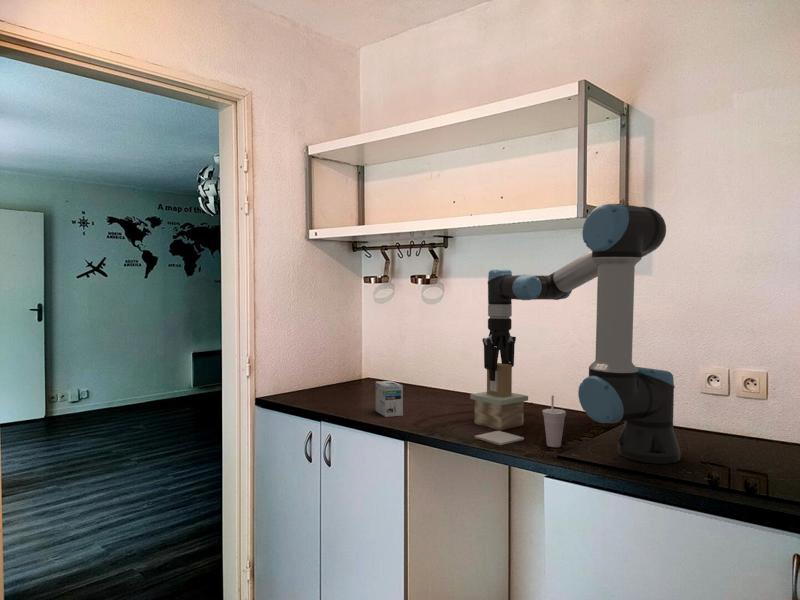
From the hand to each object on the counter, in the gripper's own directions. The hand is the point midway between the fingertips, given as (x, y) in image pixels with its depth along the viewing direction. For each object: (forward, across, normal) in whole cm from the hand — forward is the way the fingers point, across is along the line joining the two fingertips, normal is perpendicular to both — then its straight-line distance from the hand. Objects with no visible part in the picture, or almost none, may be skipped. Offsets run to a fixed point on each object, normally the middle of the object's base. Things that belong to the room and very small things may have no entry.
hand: (499, 389), depth 182 cm
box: (+11, 0, 0) cm, 11 cm away
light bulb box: (+11, +19, -34) cm, 41 cm away
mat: (+11, +13, +12) cm, 21 cm away
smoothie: (+11, +6, +26) cm, 29 cm away
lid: (+3, 0, 0) cm, 3 cm away
